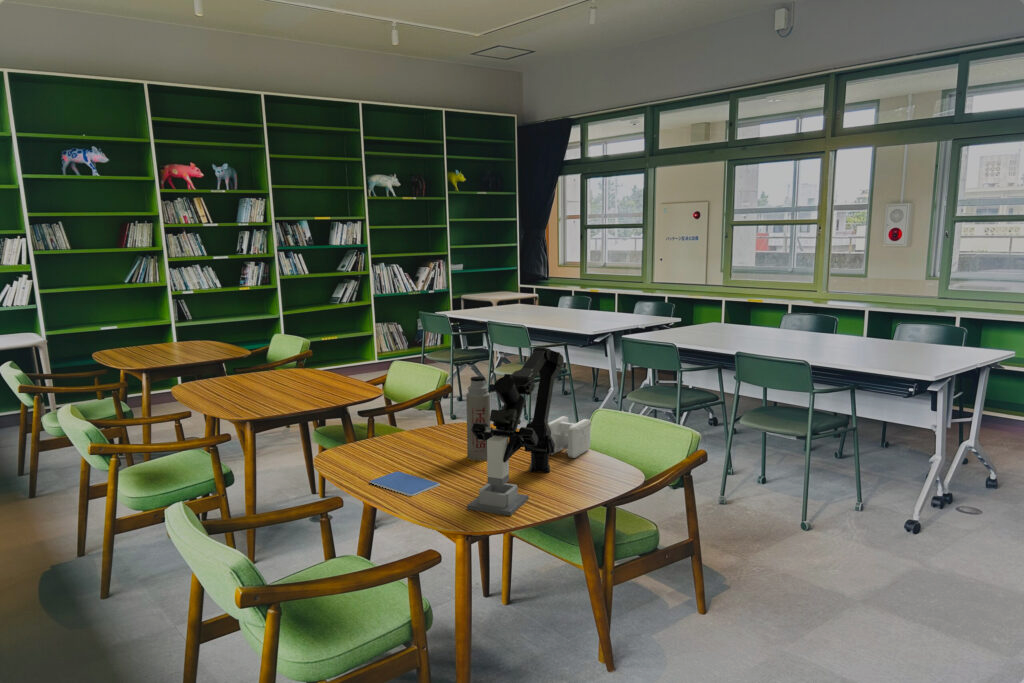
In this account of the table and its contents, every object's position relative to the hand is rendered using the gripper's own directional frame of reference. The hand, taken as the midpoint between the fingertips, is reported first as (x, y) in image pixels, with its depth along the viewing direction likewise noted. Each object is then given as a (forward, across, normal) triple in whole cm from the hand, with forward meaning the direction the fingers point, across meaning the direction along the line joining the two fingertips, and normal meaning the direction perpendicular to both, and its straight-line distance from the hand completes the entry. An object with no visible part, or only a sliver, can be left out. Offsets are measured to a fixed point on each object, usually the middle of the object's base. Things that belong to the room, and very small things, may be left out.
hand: (495, 460), depth 186 cm
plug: (+4, 0, +6) cm, 7 cm away
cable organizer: (-28, +3, +48) cm, 55 cm away
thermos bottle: (-17, -24, +36) cm, 46 cm away
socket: (+8, 0, +10) cm, 13 cm away
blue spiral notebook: (+6, -33, +13) cm, 36 cm away
